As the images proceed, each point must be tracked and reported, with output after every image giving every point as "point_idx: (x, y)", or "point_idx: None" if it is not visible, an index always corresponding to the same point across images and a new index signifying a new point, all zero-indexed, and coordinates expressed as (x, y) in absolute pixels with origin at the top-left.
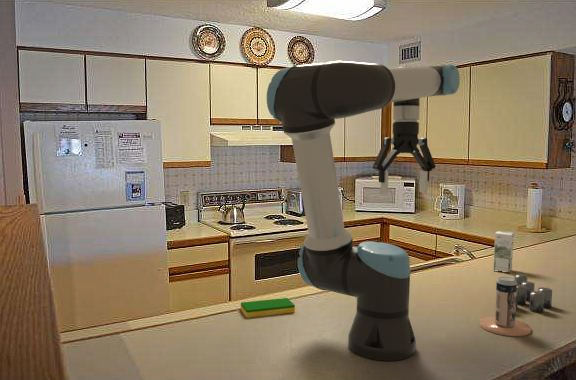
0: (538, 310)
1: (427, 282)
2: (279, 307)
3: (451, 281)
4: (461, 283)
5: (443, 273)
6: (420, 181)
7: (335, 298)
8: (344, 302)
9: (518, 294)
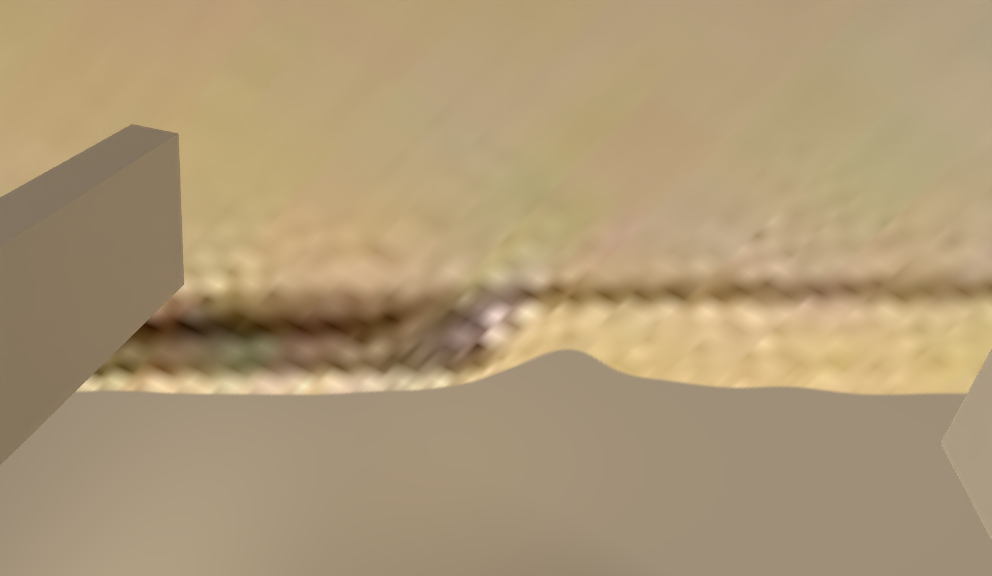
0: None
1: (268, 125)
2: None
3: (124, 67)
4: (93, 6)
5: None
6: (68, 371)
7: (953, 167)
8: (972, 84)
9: None
